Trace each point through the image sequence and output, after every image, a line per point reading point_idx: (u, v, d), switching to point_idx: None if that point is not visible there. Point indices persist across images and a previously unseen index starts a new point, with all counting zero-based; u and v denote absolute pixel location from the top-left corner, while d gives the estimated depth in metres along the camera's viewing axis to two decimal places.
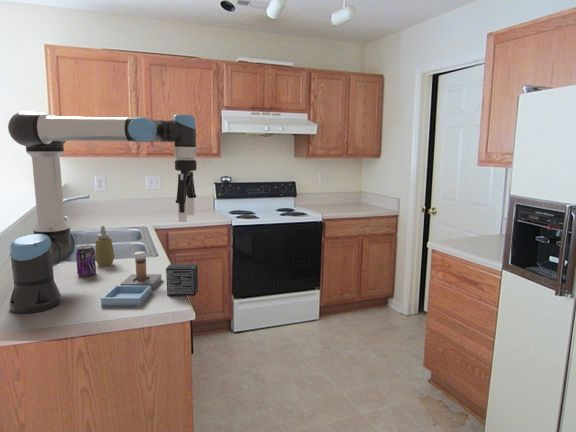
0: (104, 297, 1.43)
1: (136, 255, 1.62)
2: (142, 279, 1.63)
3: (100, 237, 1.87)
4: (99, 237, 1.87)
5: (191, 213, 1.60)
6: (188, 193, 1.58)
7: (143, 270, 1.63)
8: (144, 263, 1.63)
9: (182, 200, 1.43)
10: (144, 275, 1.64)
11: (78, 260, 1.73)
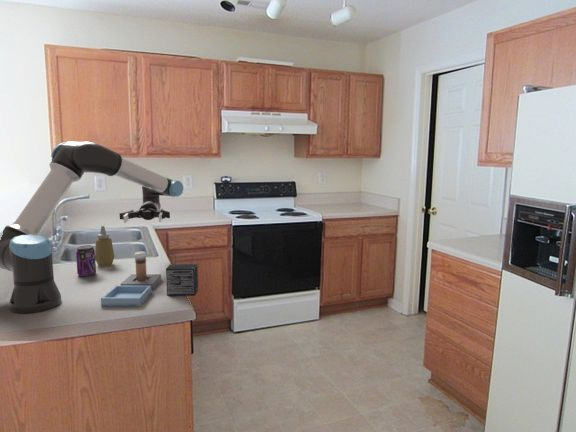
0: (104, 297, 1.43)
1: (136, 255, 1.62)
2: (142, 279, 1.63)
3: (100, 237, 1.87)
4: (99, 237, 1.87)
5: (126, 220, 1.70)
6: (130, 214, 1.78)
7: (143, 270, 1.63)
8: (144, 263, 1.63)
9: (169, 216, 1.80)
10: (144, 275, 1.64)
11: (78, 260, 1.73)
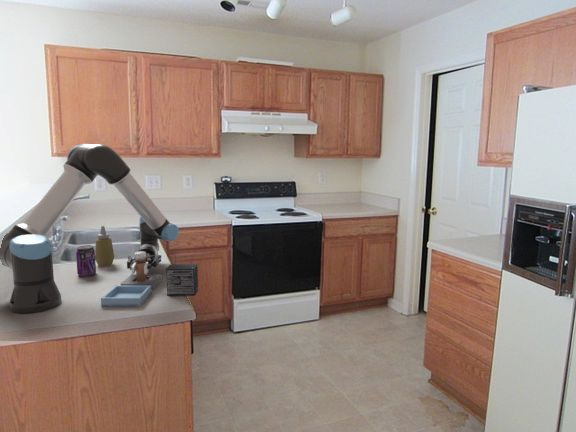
0: (104, 297, 1.43)
1: (136, 255, 1.62)
2: (142, 279, 1.63)
3: (100, 237, 1.87)
4: (99, 237, 1.87)
5: (134, 271, 1.59)
6: None
7: (143, 270, 1.63)
8: (144, 263, 1.63)
9: (156, 266, 1.67)
10: (144, 275, 1.64)
11: (78, 260, 1.73)
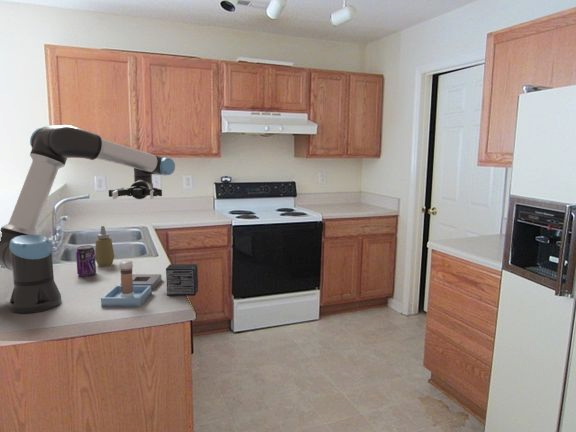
0: (104, 297, 1.43)
1: (121, 265, 1.46)
2: (128, 291, 1.48)
3: (100, 237, 1.87)
4: (99, 237, 1.87)
5: (115, 196, 1.61)
6: (120, 191, 1.68)
7: (129, 281, 1.47)
8: (130, 273, 1.47)
9: (161, 194, 1.71)
10: (130, 287, 1.48)
11: (78, 260, 1.73)
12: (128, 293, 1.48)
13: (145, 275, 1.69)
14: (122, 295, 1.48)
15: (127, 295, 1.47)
